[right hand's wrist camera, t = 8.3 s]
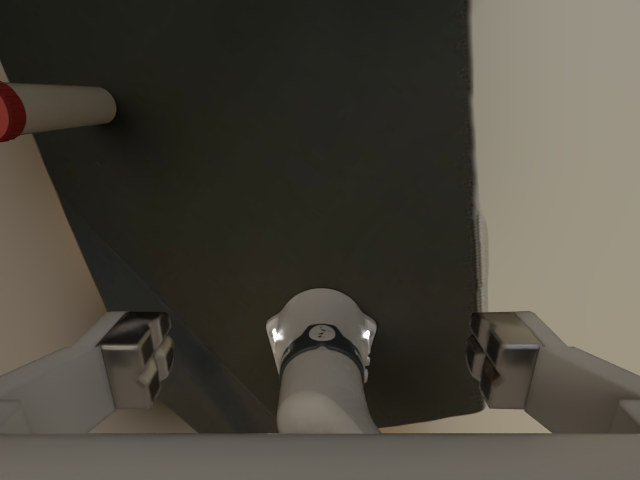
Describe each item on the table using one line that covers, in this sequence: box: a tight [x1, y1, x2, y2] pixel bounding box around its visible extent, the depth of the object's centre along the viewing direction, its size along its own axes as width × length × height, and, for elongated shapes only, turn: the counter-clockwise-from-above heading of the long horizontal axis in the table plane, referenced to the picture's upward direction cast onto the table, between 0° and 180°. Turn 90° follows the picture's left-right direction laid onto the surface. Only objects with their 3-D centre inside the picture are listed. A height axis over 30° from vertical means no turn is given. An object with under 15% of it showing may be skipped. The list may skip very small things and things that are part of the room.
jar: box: [6, 83, 116, 135], centre depth 44 cm, size 5×5×20 cm
